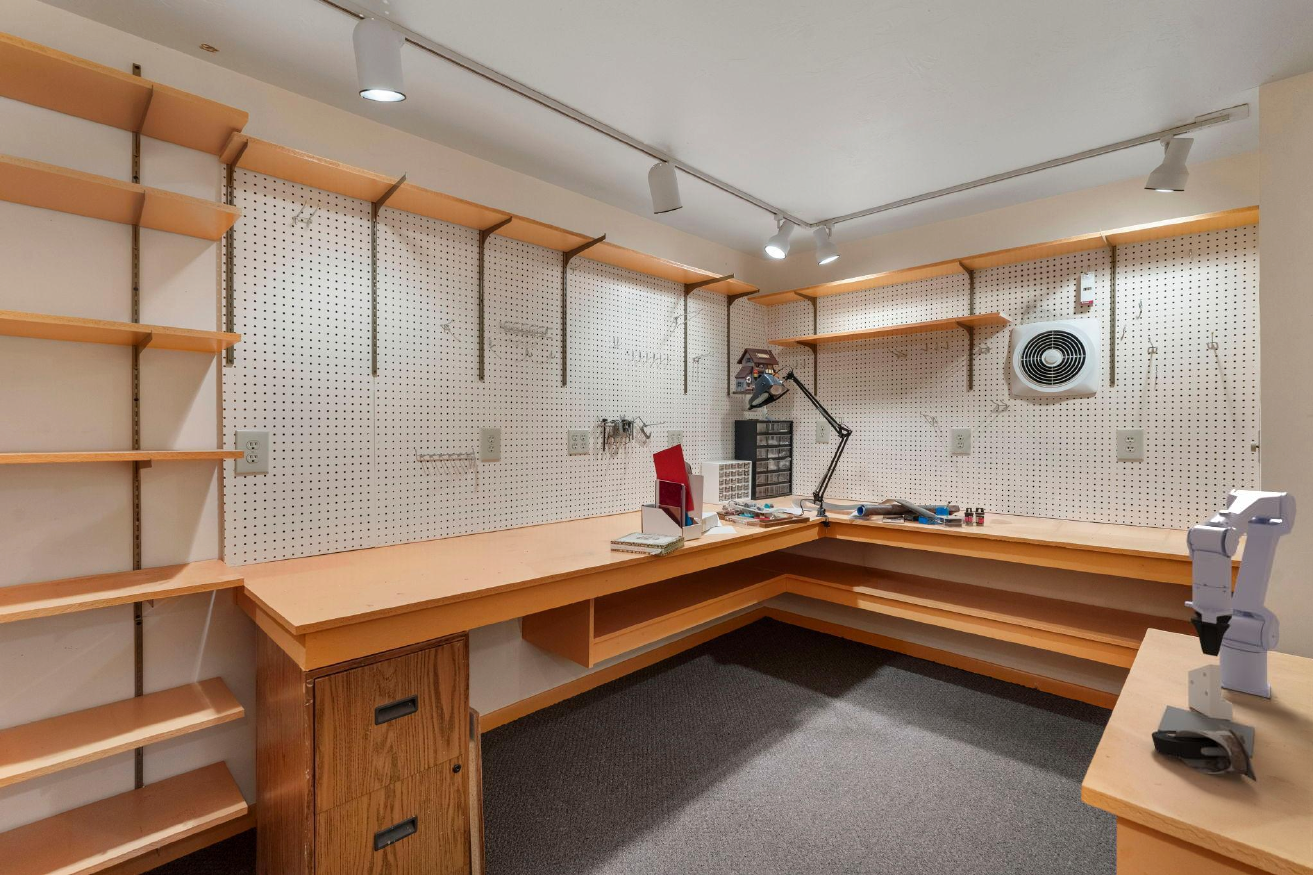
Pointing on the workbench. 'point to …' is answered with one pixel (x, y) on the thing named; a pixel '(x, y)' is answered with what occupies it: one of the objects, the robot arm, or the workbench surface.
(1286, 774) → the workbench surface
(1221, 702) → the white angled block
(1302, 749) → the workbench surface
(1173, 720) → the rubber mat
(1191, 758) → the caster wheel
